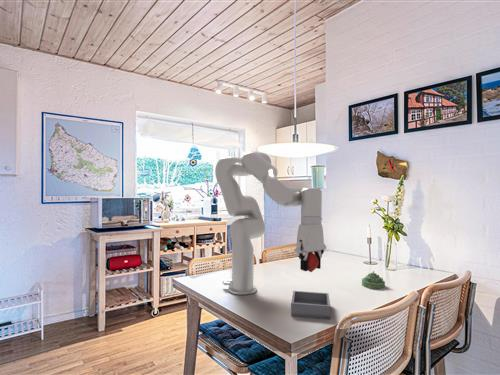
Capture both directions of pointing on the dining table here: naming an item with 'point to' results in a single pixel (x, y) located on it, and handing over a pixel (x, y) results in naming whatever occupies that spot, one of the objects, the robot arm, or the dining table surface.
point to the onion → (312, 261)
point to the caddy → (310, 305)
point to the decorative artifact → (373, 281)
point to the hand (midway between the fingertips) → (310, 268)
